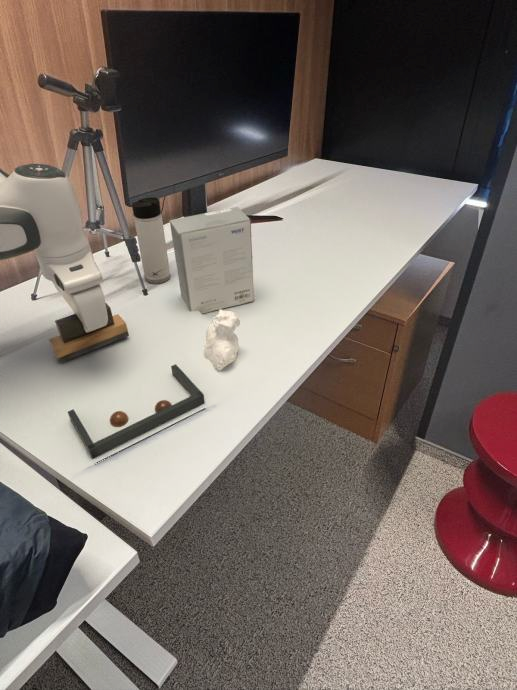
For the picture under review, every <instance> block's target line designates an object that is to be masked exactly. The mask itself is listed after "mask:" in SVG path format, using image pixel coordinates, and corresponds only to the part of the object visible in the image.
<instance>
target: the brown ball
mask: <svg viewBox="0 0 517 690" xmlns="http://www.w3.org/2000/svg"><path fill="white" fill-rule="evenodd" d="M172 405H173V404H172V403H171V402H170V401H168V400H167V399H162V400H159V401H157V402H156V404H155V405H154V412H155V413H157V412H159V411H161V410H163V409H166V408H168V407H170V406H172Z"/></svg>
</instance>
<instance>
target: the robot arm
mask: <svg viewBox="0 0 517 690" xmlns="http://www.w3.org/2000/svg"><path fill="white" fill-rule="evenodd" d="M77 198H78V197H77V195H76V191H75V189H74V187H73V184H72V182H71V180H70V178H69V176H68V175H67V174H66V173H65V172H64V171H62V170H61V169H60V168H59V167H56V166H52V165H50V164H45V163H27V164H21V165H19V166H16V167H15V168H14V169H13V171H12V173H11V174H9V173H8V172H5V171H4V170H3V169H2V168H0V261H4V260H8V259H12V258H16V257H20V256H22V255H26V254H28V253H30V252H34V254H35V256H36V259H37V262H38V265H39V268H40V271H41V274H42V276H43V278H44V279H46V280H48V281H50V282H52V284H53V286H54V288H55V289H56V290H57V292H58V293H59V295H60V296H61V298H63V299H64V301H65V302H66V303H67V305H68V306H69V308H70V309H71V310H72V311H73V314H76V315H77V316H78V318H79V319H80V320H81V323H82V326H83V329H84V330H85V331H86V332H91V331H93V330H96V329H99V328H101V327H104V326H106V325H107V322H108V315H107V309H106V304H105V303H106V299H105V295H104V291H103V288H102V286H101V284H103V283H104V278H103V274H102V271H101V270H100V268H99V267H98V264H97V263H96V261H95V258H94V255H93V252H92V248H91V245H90V242H89V238H88V236H87V235H86V233H85V231H84V229H83V228H84V227H83V215H82V211H81V207H80V203H79V201H78V199H77Z"/></svg>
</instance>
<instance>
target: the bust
mask: <svg viewBox="0 0 517 690" xmlns="http://www.w3.org/2000/svg"><path fill="white" fill-rule="evenodd" d="M240 323H241V320H240V318H239V316H238V314H237V313H236V312H234V311H229V310H223V309H219V310H218V314H216V315H215V316H214V317H212V322H211V323H210V324H209V326H208V328H207V329H206V333H205V345H204V348H203V357H205V359H207V360H208V361H209V362H210V363H211V364H212V365H213V367H214V369H215V370H217V371H218V372H220V371H223V370H224V369H225V368H226V367H227V366H229V364H231V363H233V362H235V361H236V360H237V357H238V352H239V350H240V345H239V338H238V335H237V334H236V333H235V330H236V328H237V327H239V326H240V325H241V324H240Z"/></svg>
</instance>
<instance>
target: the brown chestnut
mask: <svg viewBox="0 0 517 690" xmlns="http://www.w3.org/2000/svg"><path fill="white" fill-rule="evenodd" d="M128 422H129V416H128V414H127V413H126V412H124V411H122V410H117V411H114V412H113V413H112V414H111V416H110V417H109V424H110V426H112V427H114V428H121V427H124V426H125V425H126V424H128Z"/></svg>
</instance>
